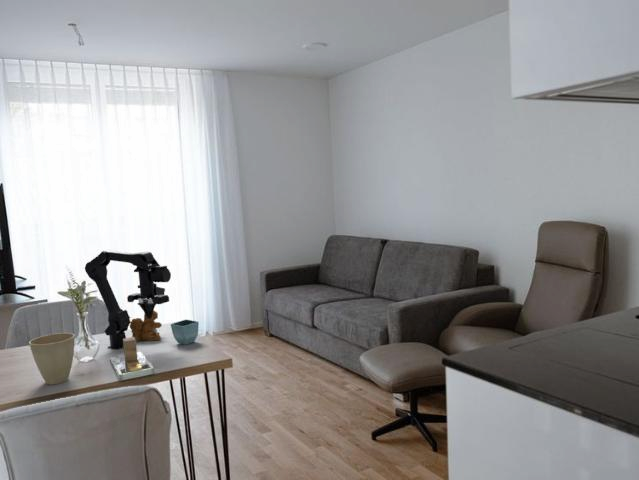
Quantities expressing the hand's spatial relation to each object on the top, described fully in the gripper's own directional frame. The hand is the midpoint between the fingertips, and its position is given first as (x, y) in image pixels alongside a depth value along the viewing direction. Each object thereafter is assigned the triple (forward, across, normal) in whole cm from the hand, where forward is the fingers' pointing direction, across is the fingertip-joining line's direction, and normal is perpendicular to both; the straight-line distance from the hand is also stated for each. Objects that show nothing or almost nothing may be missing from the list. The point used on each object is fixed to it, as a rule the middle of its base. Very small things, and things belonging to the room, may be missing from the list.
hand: (149, 318), depth 236 cm
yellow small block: (+12, -20, +29) cm, 37 cm away
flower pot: (+13, -9, -11) cm, 19 cm away
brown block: (+12, -14, +25) cm, 31 cm away
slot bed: (+13, -8, +21) cm, 26 cm away
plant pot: (+13, +6, +42) cm, 44 cm away
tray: (+13, -19, +28) cm, 37 cm away
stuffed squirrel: (+13, +13, -10) cm, 21 cm away
